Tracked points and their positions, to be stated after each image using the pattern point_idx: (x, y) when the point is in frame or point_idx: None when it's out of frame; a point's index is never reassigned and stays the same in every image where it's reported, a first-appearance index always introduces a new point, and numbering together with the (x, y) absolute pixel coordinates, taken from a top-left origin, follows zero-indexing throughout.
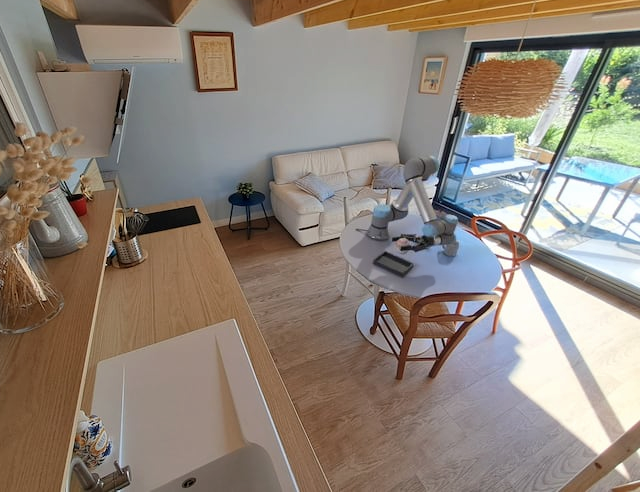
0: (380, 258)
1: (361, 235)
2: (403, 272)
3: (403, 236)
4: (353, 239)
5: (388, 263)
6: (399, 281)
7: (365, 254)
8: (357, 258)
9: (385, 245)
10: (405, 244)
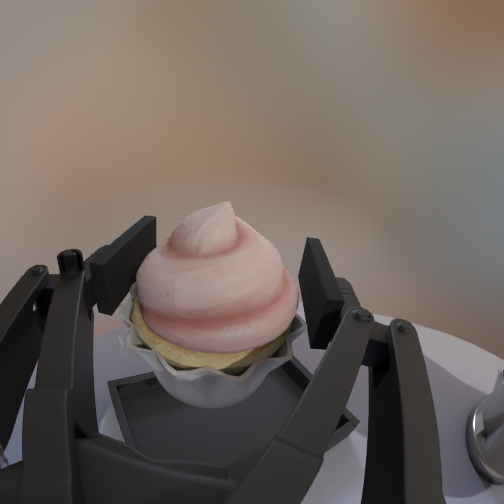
0: (300, 391)
1: (478, 381)
2: (116, 391)
3: (347, 318)
4: (444, 350)
5: (244, 405)
6: (104, 367)
7: None
8: None
9: None
10: (157, 246)
